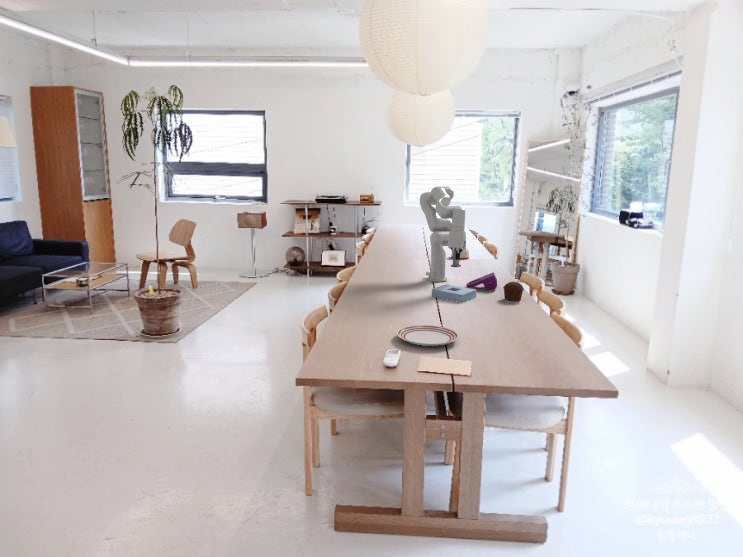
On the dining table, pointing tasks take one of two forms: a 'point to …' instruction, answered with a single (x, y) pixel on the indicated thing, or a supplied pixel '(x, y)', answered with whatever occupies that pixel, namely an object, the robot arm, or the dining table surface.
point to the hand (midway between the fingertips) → (456, 259)
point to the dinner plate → (427, 335)
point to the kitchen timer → (462, 254)
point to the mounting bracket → (484, 282)
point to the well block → (454, 293)
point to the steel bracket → (455, 262)
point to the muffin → (513, 291)
